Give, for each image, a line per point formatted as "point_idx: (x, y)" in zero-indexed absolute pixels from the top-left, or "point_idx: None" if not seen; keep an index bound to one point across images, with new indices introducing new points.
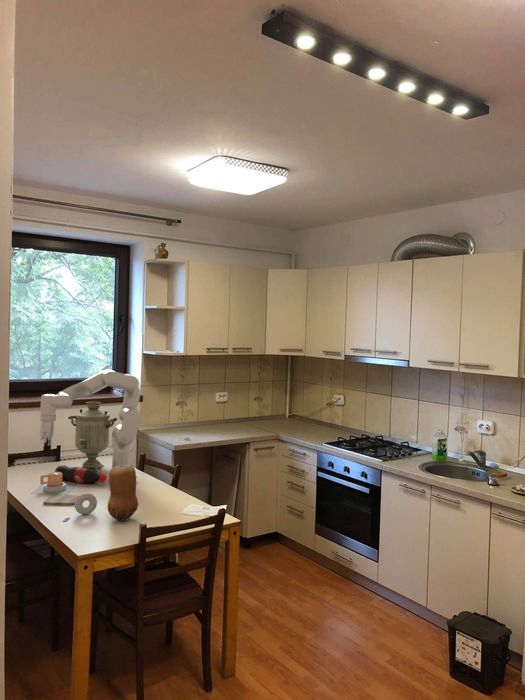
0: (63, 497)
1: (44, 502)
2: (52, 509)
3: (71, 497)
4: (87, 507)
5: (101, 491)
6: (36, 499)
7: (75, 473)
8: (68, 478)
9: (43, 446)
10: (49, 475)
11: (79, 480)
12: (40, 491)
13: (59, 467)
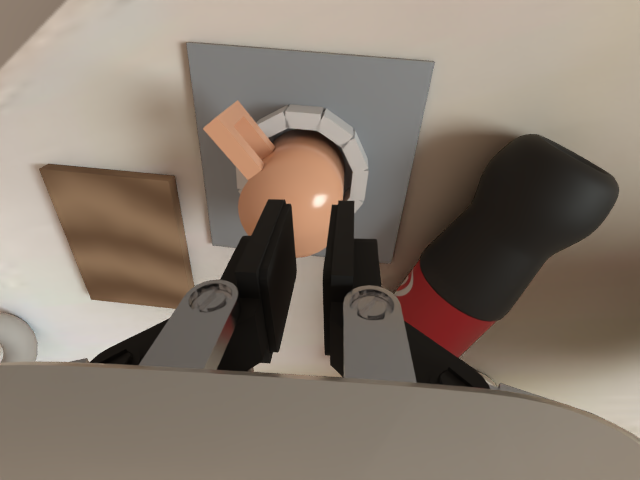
0: (143, 242)
1: (42, 173)
2: (13, 215)
3: (153, 272)
4: (3, 347)
5: (293, 349)
6: (114, 105)
7: (422, 290)
8: (446, 230)
9: (240, 260)
10: (247, 182)
11: (401, 284)
12: (240, 96)
13: (543, 196)
